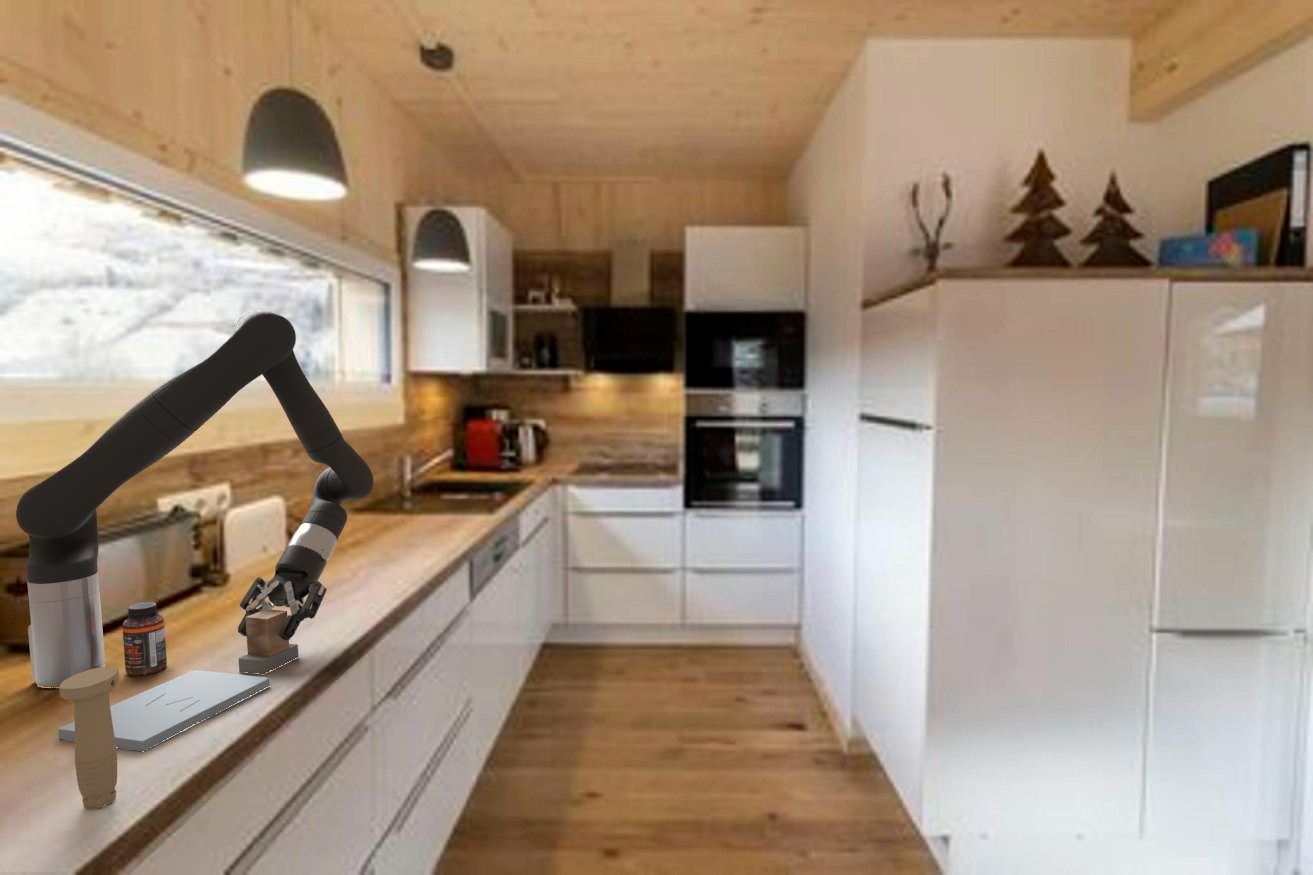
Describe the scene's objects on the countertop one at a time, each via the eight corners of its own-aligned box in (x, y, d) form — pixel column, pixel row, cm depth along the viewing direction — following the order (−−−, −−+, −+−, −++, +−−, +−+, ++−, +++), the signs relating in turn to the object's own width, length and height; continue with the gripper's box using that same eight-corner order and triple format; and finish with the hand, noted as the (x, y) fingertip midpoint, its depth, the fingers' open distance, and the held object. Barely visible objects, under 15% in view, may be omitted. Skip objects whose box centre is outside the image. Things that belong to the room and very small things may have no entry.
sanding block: (239, 672, 130) (235, 620, 129) (275, 656, 138) (272, 606, 137) (263, 675, 129) (260, 622, 128) (298, 658, 136) (295, 608, 136)
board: (59, 739, 107) (58, 728, 107) (195, 678, 128) (194, 669, 128) (143, 752, 102) (142, 741, 102) (270, 687, 123) (269, 677, 123)
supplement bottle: (116, 676, 129) (111, 609, 128) (144, 663, 135) (139, 599, 134) (148, 677, 129) (143, 610, 128) (175, 664, 134) (171, 600, 134)
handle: (137, 787, 93) (128, 665, 92) (105, 817, 87) (95, 687, 86) (94, 790, 93) (84, 668, 92) (59, 820, 87) (48, 690, 85)
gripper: (263, 541, 141) (215, 623, 131) (329, 544, 137) (284, 629, 127) (286, 563, 147) (242, 643, 136) (350, 567, 142) (309, 649, 132)
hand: (262, 636), depth 132 cm, fingers open, 8 cm apart
